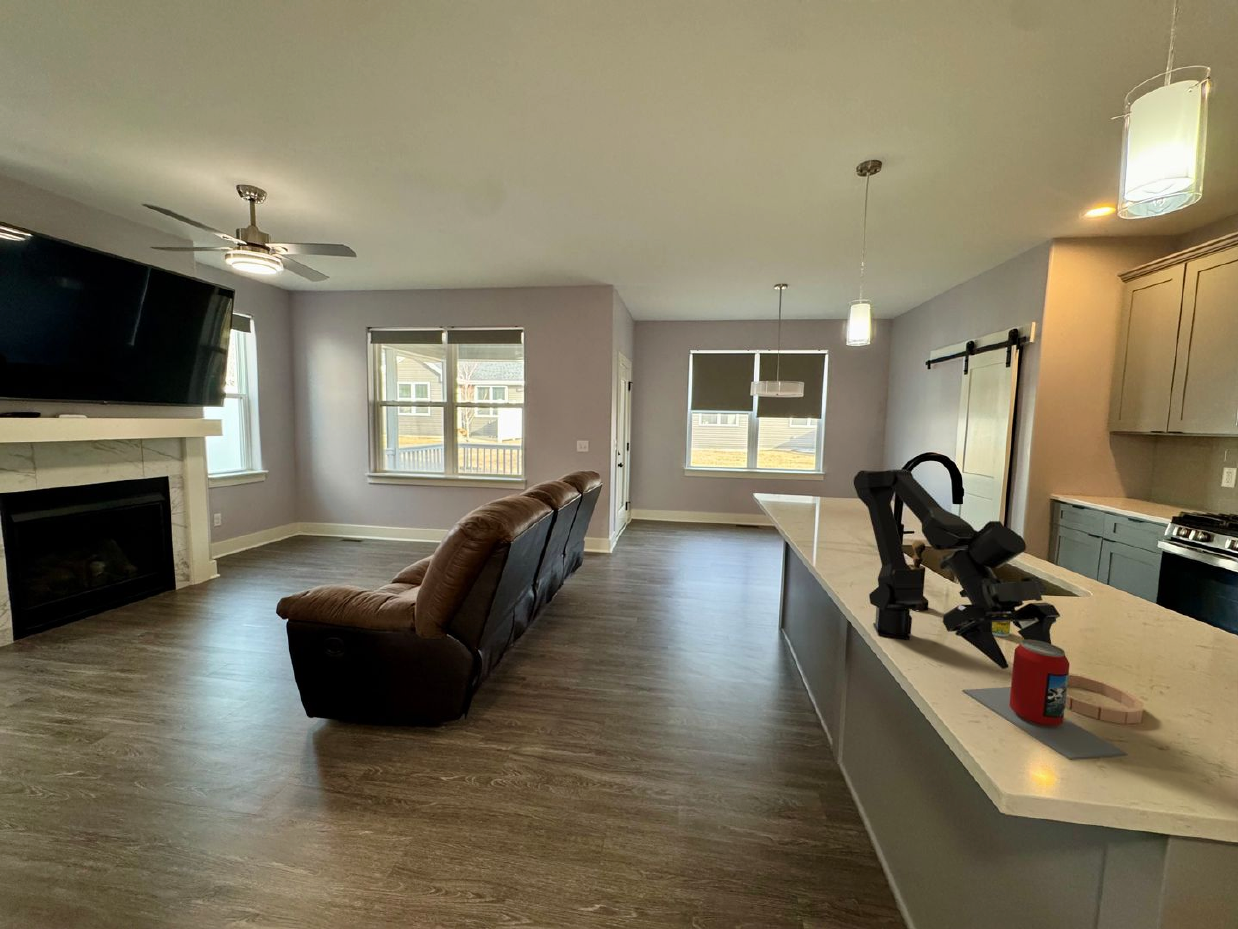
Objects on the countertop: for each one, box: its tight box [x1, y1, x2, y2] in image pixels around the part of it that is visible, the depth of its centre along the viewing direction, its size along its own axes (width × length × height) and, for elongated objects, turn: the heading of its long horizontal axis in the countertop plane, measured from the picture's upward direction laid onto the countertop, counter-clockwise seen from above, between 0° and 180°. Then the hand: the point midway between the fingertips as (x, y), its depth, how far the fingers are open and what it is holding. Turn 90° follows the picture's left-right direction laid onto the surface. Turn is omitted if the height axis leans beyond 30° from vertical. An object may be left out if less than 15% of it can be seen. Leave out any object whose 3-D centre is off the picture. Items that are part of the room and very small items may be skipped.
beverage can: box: [1009, 639, 1070, 726], centre depth 78 cm, size 7×7×12 cm
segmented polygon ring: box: [1065, 672, 1144, 725], centre depth 85 cm, size 13×13×2 cm
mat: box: [961, 686, 1128, 760], centre depth 79 cm, size 18×10×1 cm, turn 9°
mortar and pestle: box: [907, 540, 929, 612], centre depth 129 cm, size 7×6×18 cm
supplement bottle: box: [992, 622, 1011, 638], centre depth 114 cm, size 5×5×10 cm
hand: (1029, 666), depth 80 cm, fingers open, 9 cm apart
